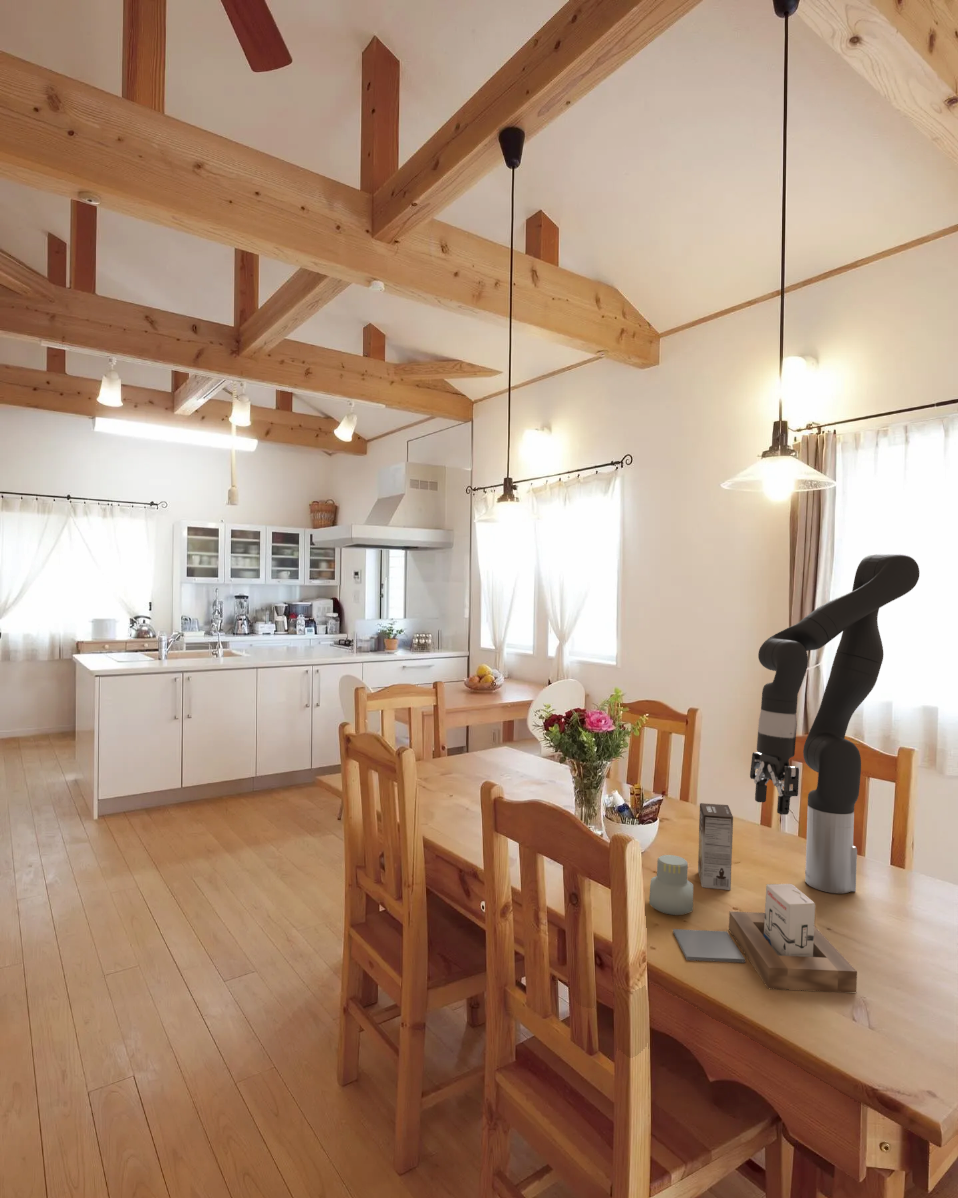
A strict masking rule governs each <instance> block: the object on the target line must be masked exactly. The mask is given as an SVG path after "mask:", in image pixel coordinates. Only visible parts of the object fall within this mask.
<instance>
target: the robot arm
mask: <svg viewBox="0 0 958 1198" xmlns="http://www.w3.org/2000/svg"><path fill="white" fill-rule="evenodd" d="M919 567H920V566H919V564H918V563H917V561H916V560H915V559H914V558H913V557H911V556H910V555H906V554H901V553H872V554H868V555H866V556H865V557H863V558H862V560H861V561H860V562H859V564H858V566H857V569H856V571H855V574H854V580H853V586H852V590H851V591H850V592H847V593H846V594H844V595H841V596H839V597H836V598H834V599H832V600H830V601H826V603H823V604H821V605H820V606H818V607H817V608H816V609H814V610H812V612H810V613H809V614H807V615H806V616H805V617H804V618H802V619H801V620H799V621H798V622H797V623H796V624H794V625H791V626H789V627H787V628H784V629H783V630H781V631H779V632H777V633H775V634H774V635H771V636H770V637H769V638H767V639H766V640H765V641H764V642H763V643H762V644H761V646H760V648H759V649H758V661H759V663H760V664H761V665H762V667H763V668H766V669H767V670H770V671H773V672H775V674H774V678H773V680H772V682H767V683H765V685H764V686H763V687H762V691H761V703H760V704H761V705H760V706H761V707H760V713H759V719H758V724H757V725H758V727H757V739H756V751H757V752H756V751H755V752H752V755H751V763H750V764H751V765H750V772H749V777H750V779H751V780H753V782H754V784H755V790H754V791H755V792H754V793H755V794H754V795H755V796H754V800H755V802H757V803H766V801H767V792H768V791H767V790H768V785H767V783H768V782H769V781H772V784H773V786H775V787H776V789H777V793H778V796H777V807H776V808H777V809H776V813H777V814H779V815H781V816H782V815H786V816H787V815H788V814H789V812H790V806H791V798H792V797H798V796H799V778H800V769H799V767H798V766H791V765H790V758H794V756H795V754H796V753H795V752H796V740H797V729H798V728H797V726H798V723H797V722H798V719H797V711H798V694H799V692H800V689H801V687H802V685H803V681H804V679H805V676H806V672H807V669H808V665H809V656H808V651H817V650H819V649H821V648H823V647H825V646H826V645H827V644H828V643H830V642H831V641H832V640H833V639H835V638H836V637H838V636H839V635H840V634H841V636H840V637H841V638H840V639H839V640H840V641H839V644H838V646H837V650H836V652H835V654H834V655H835V656H834V657H833V662H832V666H831V669H830V673H829V677H828V680H827V683H826V685H825V690H824V692H823V695H822V699H821V703H820V704H819V705H820V706H819V709H818V712H817V713H816V716H815V718H814V721H813V723H812V725H811V727H810V730H809V732H808V734H807V736H806V738H805V742H804V745H803V751H802V753H803V760H804V762H805V764H806V766H807V767H808V768H809V769H810V770H813V771H814V772H816V773H818V774H817V783H816V784H817V785H816V789H813V790H811V791H809V792H808V794H807V810H806V811H807V813H806V814H807V815H806V816H807V817H806V845H805V846H806V849H805V869H804V870H805V871H804V872H805V873H804V874H805V877H804V878H805V879H804V880H805V881H804V882H805V883H806V884H807V885H808V886H809V887H811V888H813V889H816V890H818V891H822V892H825V893H830V894H847V893H849V892H856V891H857V864H858V863H857V861H858V849H857V846H855V845H854V830H855V829H854V826H855V804H856V803H857V801H858V799H859V795H860V787H861V774H862V758H861V753H860V751H859V748H858V746H856V745H855V743H854V742H852V741H851V740H848V739H846V733H847V730H848V727H849V724H850V721H851V718H852V717H853V714H854V713H855V711H856V710H857V709H858V708H859V707H860V705H861V704H862V703H863V702H864V701H865V699H866V698H868V696H869V694H870V693H871V692H872V690H873V689H874V687H875V685H876V683H877V680H878V677H879V674H880V671H881V667H882V664H883V662H884V661H883V660H884V645H883V643H882V642H883V641H882V638H881V633H880V630H879V624H878V617H879V616H878V615H879V611H880V608H882V607H884V606H885V605H887V604H889V603H891V602H894V601H895V600H897V599H900V598H901V597H903V596H905V595H906V594H908V593H909V592H911V591H913V589H914V588H915V587H916V585H917V584H918V581H919V579H920V568H919ZM756 770H757V771H756ZM791 785H792V788H791Z"/></svg>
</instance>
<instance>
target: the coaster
mask: <svg viewBox="0 0 958 1198" xmlns="http://www.w3.org/2000/svg"><path fill="white" fill-rule="evenodd" d="M672 933H673V935H674V937H675V940H676V941H677V943H678V945H679V948H680V949H681V951H682V953H683V956H684V958H685V959H686V961H696V960H697V961H698V960H699V961H701V962H702V961H703V962H718V961H719V962H724V963H741V964H742V963H743V964H744V963H746V958H745V957H744V955H743V954H742V952H741V950H740V949H739V947H738V945H737V944H736V943H735V941H734V940H733V938H732V936H731V935H730V934H729V932H728V931H727V930H726V931H724V930H705V929H702V930H701V929H699V930H698V929H680V928H679V929H678V928H672ZM699 961H698V962H699Z"/></svg>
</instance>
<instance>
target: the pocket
mask: <svg viewBox="0 0 958 1198" xmlns="http://www.w3.org/2000/svg"><path fill="white" fill-rule="evenodd" d="M728 915H729V916H728V930H729V932H730V933H731V935H732V936H733V938H734V940H735V942H736V943H737V944H738V946H739V947H740V950H742V952H743V953H744V955H745V956H746V957H747V959H748V961H749V962H750V964H751V965H752V968H754V970H755V971H756V973H757V975H758V976H759V977H760V979H761V980H762V982H763V983H764V985H765V984H766V985H765V986H766V988H767V989H768V990H779V989H783V991H787V990H786V989H789V990H788V991H801V990H802V991H803V990H804V991H805V990H806V992H826V993H827V992H828V993H845V992H856V993H857V986H858V985H857V984H858V981H857V980H858V971H857V970H856V968H854V966H853V965H852V964H851V963H850V962H849V961H848V960H847V959H846V958H845V957H844V956H843V954H842V953H840V951H839V950H838V949H837V948H836V947H835V945H833V944H832V943H831V942H830V940H829V939H828V938H827V937H826V936H825V935H824V934H823V933H822V932H821V931H820V930H819V929H818V928H817V927H816V925H814V942H813V957H799V956H778V955H777V953H776V952H775V951H774V949H773V948H772V947H771V945H770V944H769V943H768V941H767V940H766V939H765V937H764V921H765V912H754V911H751V912H750V911H732V910H731V911H729V912H728ZM769 988H770V989H769ZM784 989H785V990H784ZM807 990H808V991H807Z"/></svg>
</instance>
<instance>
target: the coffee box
mask: <svg viewBox="0 0 958 1198" xmlns="http://www.w3.org/2000/svg"><path fill="white" fill-rule="evenodd" d="M698 818H699V822H698V823H699V825H698V831H699V832H698V857H697V858H698V859H697V860H698V861H697V872H698V877H699V882H700V885H701V887H702V888H705V889H706V888H707V889H713V890H714V889H716V890H724V891H725V890H726V891H731V890H732V865H733V863H732V862H733V861H732V859H733V837H734V836H733V833H734V816H733V813H732V811H731V809H730V806H729V805H728V804H719V803H717V804H716V803H703V802H700V803H699V817H698Z"/></svg>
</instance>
